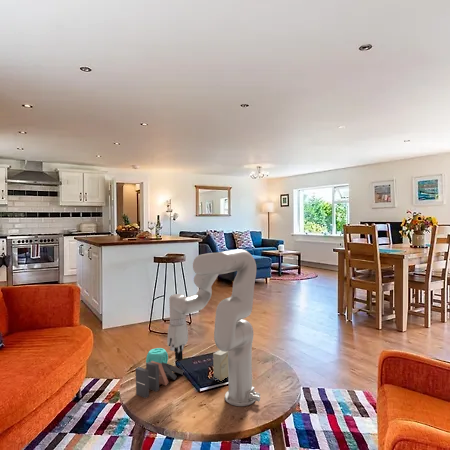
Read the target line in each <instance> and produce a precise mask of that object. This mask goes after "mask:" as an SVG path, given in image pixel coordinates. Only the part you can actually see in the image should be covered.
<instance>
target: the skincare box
mask: <svg viewBox="0 0 450 450" xmlns="http://www.w3.org/2000/svg"><path fill="white" fill-rule="evenodd" d="M212 358H213V359H212V360H213V362H212V363H213V365H212V366H213V368H212V369H213V378H214V377H215V378H217V379H219V380H220V381H222V380H224V379H225V378H227V377H228V351H226V352H224V351H221V350H219V349H218V350H217V351H216V352H213V354H212ZM227 379H228V378H227ZM224 381H225V380H224ZM222 382H223V381H222Z"/></svg>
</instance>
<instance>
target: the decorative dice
mask: <svg viewBox="0 0 450 450" xmlns="http://www.w3.org/2000/svg"><path fill="white" fill-rule="evenodd" d="M151 361H154V362H158V363H161V364H162V362H163V363H166V364H168V362H169V355H168V352H167V351H166V349H165V348H162V347H156V348H151V349H150V350H149V351H148V353H147V354H146V358H145V364H146V363H148V362H151Z"/></svg>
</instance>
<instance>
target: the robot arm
mask: <svg viewBox="0 0 450 450" xmlns="http://www.w3.org/2000/svg"><path fill="white" fill-rule="evenodd" d="M256 263H257V262H256V259H255V258H254V256H253V254H251V253H250V252H249V251H247V250H246V249H231V250H224V251H219V252H208V253H203V254H198V255H197V256H196V257H195V258H194V259H193V262H192V269H193V272H194V273H195V275H194V277H193V283H194V284H195V286H196V287H197V289H198V288H199V289H198V291H197V292H196V293H195V294H192V295H188V296H185V295H184V294H182V293H175V294H172V295H170V297H169V325H168V328H167V343H166V344H167V346H168V347H169V351H172V352H174V358H175V360H176V361H178V362H180V361H182V360H183V359H184V358H183V357H184V356H183V351H184V347H185V346H186V345H187V344H188V341H189V331H188V330H189V329H188V323H187V315H190V314H192V313H195V312H198V311H201V310H203V309H204V308H205V307H206V306H207V305H208V304H209V301H210V300H211V297H212V295H213V294H212V293H213V290H212V286H213V284H214V283H215V282H216V280H217V278H218V276H219V275H224V274H228V273H233V272H237V273H236V276H235V277H234V279H233V283H232V291H231V295H230V296H229V297H226V298H224V299H221V300H220V302H219V303H218V304H217V306H216V310H215V318H214V330H213V338H214V339H213V340H214V343H215V345H216V347H217V349H218V351H219V350H221V351H224V352H226V351H228V378H227V379H228V380H227V381H228V391H226V392H225V394H224V400H225V402H227V403H228V404H229V405H231V406H235V407H246V406H251V405H252V404H253V403H255V401H257V402H260V401H261V393H260V392H256V391H255V386H253V372H252V371H253V369H252V368H253V367H252V360H253V359H252V355H253V354H252V348H253V341H254V328H253V325H252V323H251V322H250V321H248V320H246V318H248V317H249V316H251V314H252V312H253V305H254V304H253V303H254V293H255V282H256V277H257V264H256Z"/></svg>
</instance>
